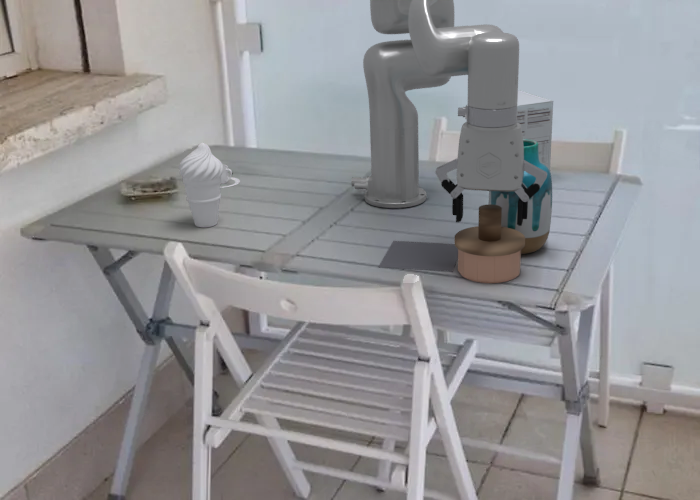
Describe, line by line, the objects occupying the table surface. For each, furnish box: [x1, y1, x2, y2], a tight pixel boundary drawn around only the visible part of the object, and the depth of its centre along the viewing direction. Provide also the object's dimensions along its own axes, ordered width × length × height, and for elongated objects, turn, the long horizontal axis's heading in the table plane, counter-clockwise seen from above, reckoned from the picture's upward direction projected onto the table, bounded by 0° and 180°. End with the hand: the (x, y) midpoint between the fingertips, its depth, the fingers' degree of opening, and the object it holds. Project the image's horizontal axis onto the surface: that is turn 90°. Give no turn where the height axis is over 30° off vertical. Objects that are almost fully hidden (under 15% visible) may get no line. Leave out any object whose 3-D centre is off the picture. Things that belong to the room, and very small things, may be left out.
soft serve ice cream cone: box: [178, 142, 224, 228], centre depth 178 cm, size 8×8×16 cm
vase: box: [487, 139, 553, 255], centre depth 159 cm, size 11×11×19 cm
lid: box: [453, 204, 525, 256], centre depth 150 cm, size 11×11×6 cm
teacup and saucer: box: [220, 164, 241, 189], centre depth 206 cm, size 9×8×4 cm
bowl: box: [457, 249, 522, 284], centre depth 152 cm, size 10×10×5 cm
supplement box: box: [517, 89, 554, 172], centre depth 198 cm, size 13×13×18 cm
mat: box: [378, 240, 458, 273], centre depth 161 cm, size 12×12×1 cm
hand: (489, 221), depth 150 cm, fingers open, 9 cm apart
